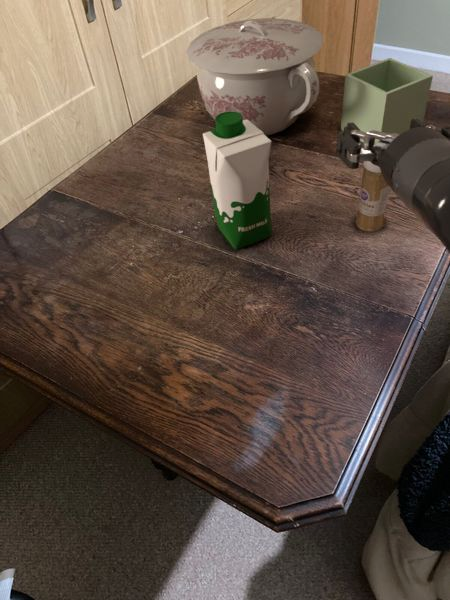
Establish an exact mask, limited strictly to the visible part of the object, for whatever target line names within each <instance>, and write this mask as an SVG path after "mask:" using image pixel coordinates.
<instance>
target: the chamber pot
mask: <svg viewBox="0 0 450 600" xmlns="http://www.w3.org/2000/svg"><path fill="white" fill-rule="evenodd" d="M323 46H324V36H323V35H322V34H321V32H320V31H318V29H317V28H316V27H314V26H311V25H310V24H307V23H305V22H302V21H297V20H292V19H286V18H285V19H284V18H273V17H272V18H271V17H267V18H266V17H265V18H250V19H249V18H248V19H244V20H237V21H232V22H228V23H226V24H221V25H219V26H216V27H215V26H214V27H212V28H211V29H208V30H206V31H204V32H202V33H200V34H199V35H198V36H196V37H195V38H194V39H193V40H192V41H190V43H189V45H188V47H187V49H186V51H185V52H186V56H187V59H188V61H190V62H191V63H192V64H194V65H195V66H196V67H198V69H197V72H196V80H197V87H198V90H199V93H200V96H201V99H202V102H203V104H204V107H205V110H206V112H207V113H208V114H209V115H210V117H212V119H213V120H214V121H215V118H216V117H217V116H218V115H219V114H221V113H224V112H230V111H232V112H238V113H240V114H241V115H242V118H243V120H246V119H247V120H249V121H250V122H251V123H252V124H253V125H255V126H256V127H257V128H258V129H259V130H261V131H262V132H263V133H264V135H265V136H266V137H267V136H270V135H271V136H273V135H275V134H277V133H280V132H283V131H285V130H286V129H288V128H289V127H291V126H292V125H293V124H294V123H295V122H296V121H297V120H298V118H299V117H300V115H301V114H304V113H306V112H308V111H310V109H311V108H312V107H314V105H315V103H316V102H317V101H318V97H319V95H320V79H319V77H318V76H319V75H318V73H317V72H316V70H315V65H316V64H315V60H314V58H313V57H315V56H316V55H317V53H318V52H319V51H320V50H321V48H323Z"/></svg>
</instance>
